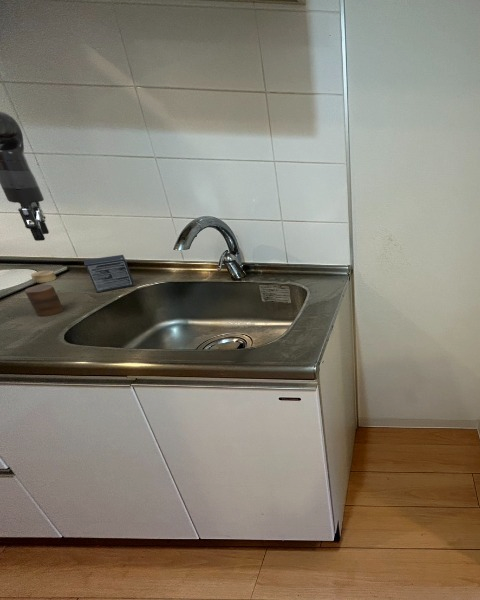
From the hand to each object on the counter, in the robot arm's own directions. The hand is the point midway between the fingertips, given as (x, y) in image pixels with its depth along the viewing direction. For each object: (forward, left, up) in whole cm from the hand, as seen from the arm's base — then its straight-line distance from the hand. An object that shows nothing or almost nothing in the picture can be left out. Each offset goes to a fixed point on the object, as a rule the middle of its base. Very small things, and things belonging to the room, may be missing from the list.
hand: (42, 236), depth 101 cm
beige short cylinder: (-9, +5, -17) cm, 20 cm away
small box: (+17, -1, -18) cm, 24 cm away
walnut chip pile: (+11, -20, -17) cm, 29 cm away
